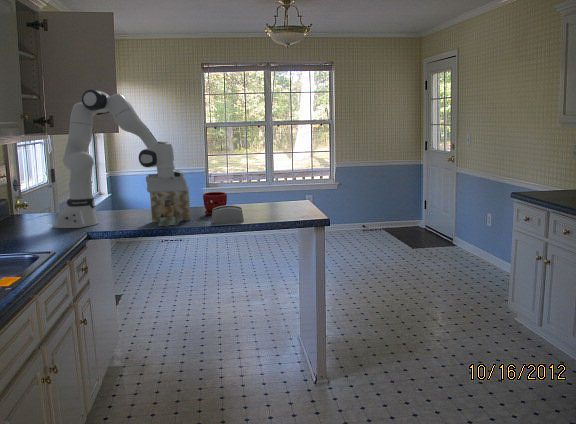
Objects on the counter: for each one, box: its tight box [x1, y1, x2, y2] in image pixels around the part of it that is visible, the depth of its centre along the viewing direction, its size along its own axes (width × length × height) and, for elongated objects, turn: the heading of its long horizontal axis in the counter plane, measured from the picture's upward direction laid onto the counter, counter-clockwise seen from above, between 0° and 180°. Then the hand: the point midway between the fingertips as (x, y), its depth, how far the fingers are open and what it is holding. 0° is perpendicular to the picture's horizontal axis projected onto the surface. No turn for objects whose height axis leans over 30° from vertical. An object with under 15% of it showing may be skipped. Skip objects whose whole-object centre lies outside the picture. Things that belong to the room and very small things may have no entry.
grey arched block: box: [210, 204, 245, 224], centre depth 286 cm, size 17×5×10 cm, turn 100°
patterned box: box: [149, 185, 192, 227], centre depth 287 cm, size 20×16×18 cm
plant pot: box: [202, 191, 228, 217], centre depth 308 cm, size 13×13×12 cm
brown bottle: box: [162, 198, 175, 217], centre depth 287 cm, size 5×10×12 cm, turn 5°
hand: (168, 200), depth 286 cm, fingers open, 8 cm apart
